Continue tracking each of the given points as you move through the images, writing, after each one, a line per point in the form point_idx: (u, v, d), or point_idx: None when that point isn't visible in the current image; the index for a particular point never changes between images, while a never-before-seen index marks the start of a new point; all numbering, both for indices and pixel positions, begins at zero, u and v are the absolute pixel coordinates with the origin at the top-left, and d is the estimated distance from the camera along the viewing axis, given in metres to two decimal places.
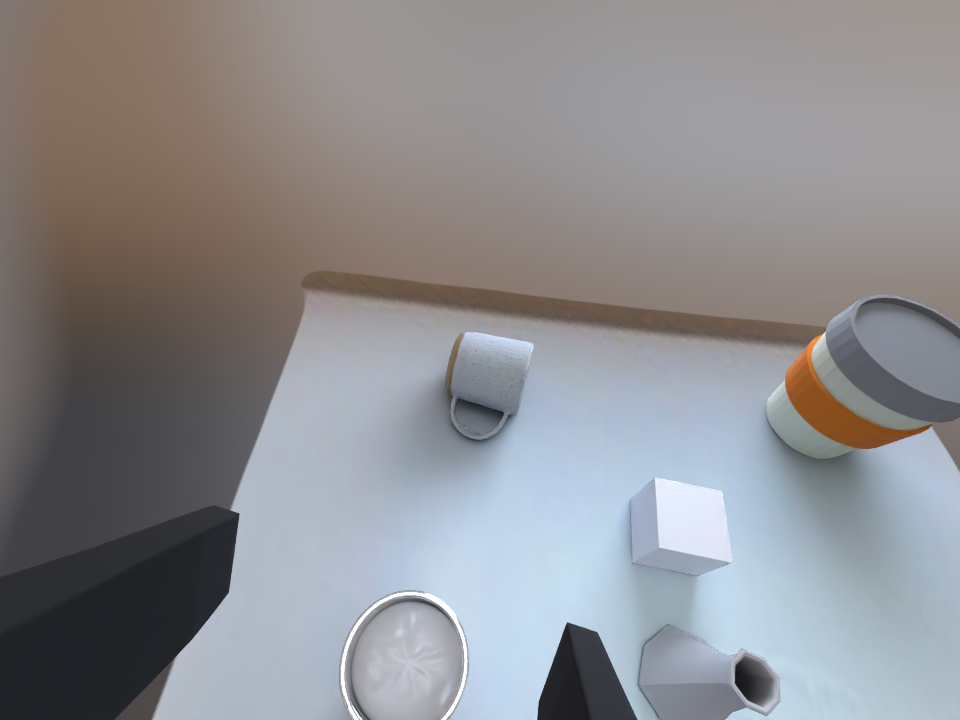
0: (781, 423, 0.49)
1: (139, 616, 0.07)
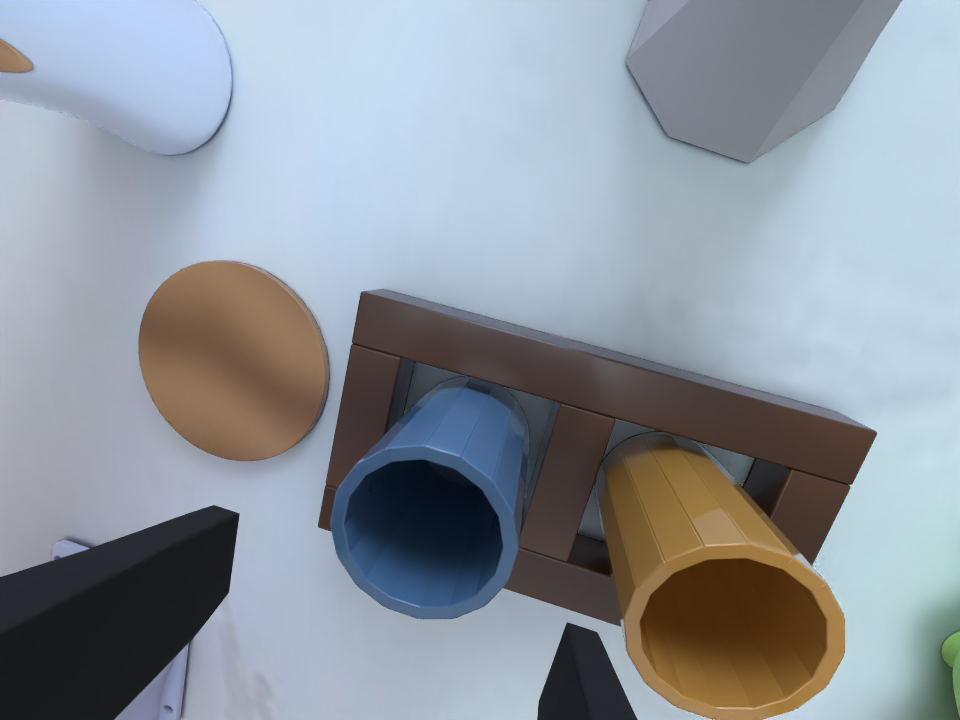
0: None
1: (139, 616, 0.07)
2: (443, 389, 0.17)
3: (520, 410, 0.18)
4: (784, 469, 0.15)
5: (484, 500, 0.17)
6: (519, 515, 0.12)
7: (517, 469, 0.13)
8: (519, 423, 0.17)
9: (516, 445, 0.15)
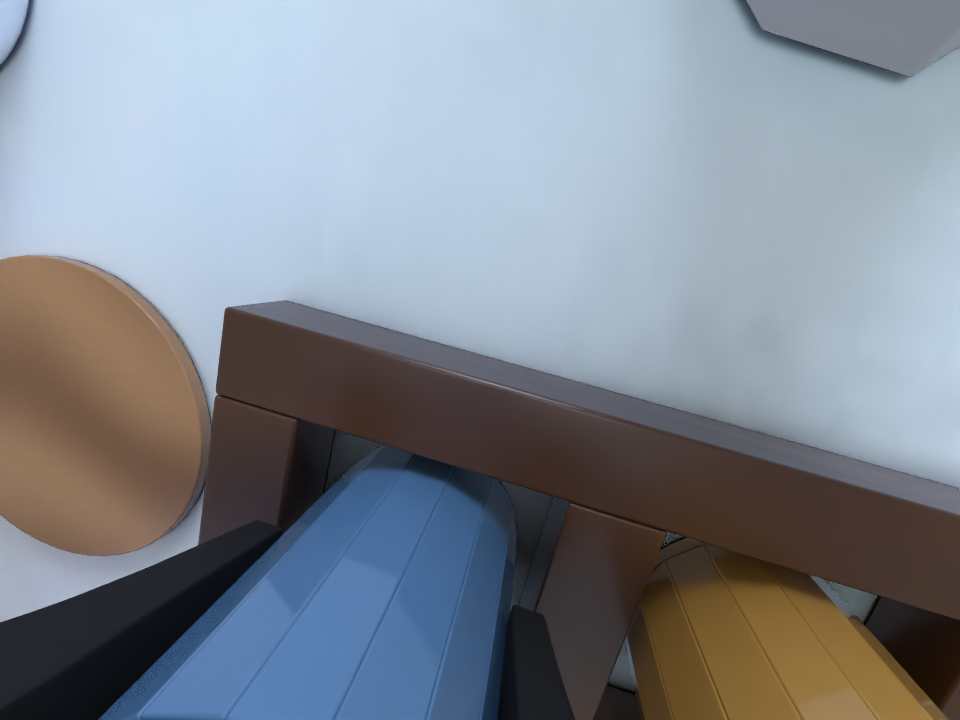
0: None
1: None
2: (369, 470, 0.10)
3: (501, 495, 0.11)
4: None
5: None
6: None
7: (482, 674, 0.07)
8: (497, 529, 0.10)
9: (486, 596, 0.08)
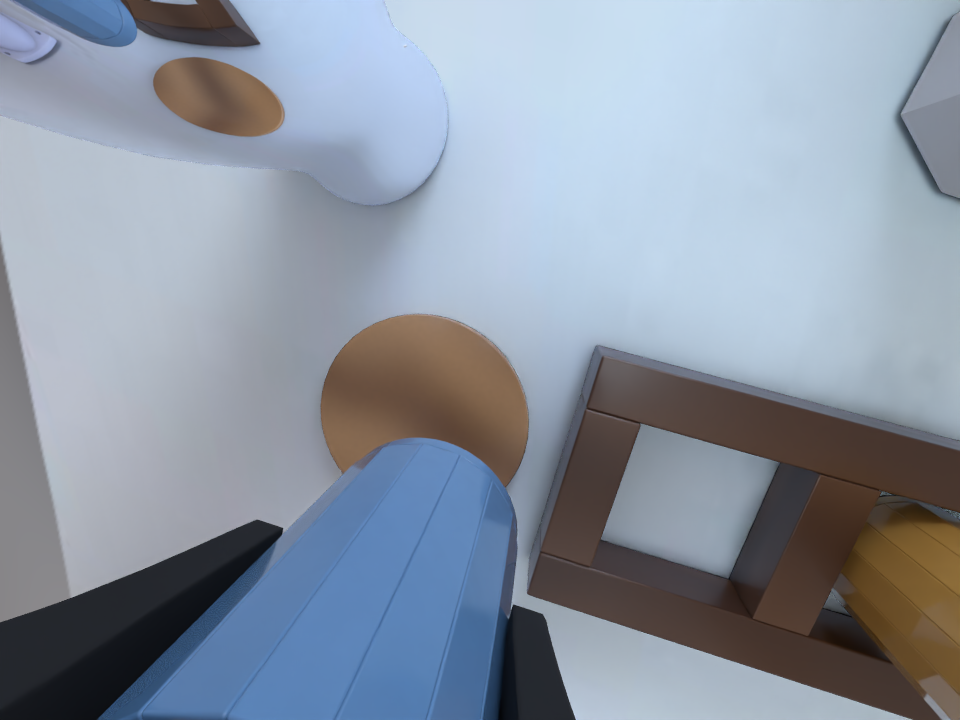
0: None
1: None
2: (370, 469, 0.10)
3: (502, 494, 0.11)
4: None
5: None
6: None
7: (483, 673, 0.07)
8: (498, 528, 0.10)
9: (487, 595, 0.08)
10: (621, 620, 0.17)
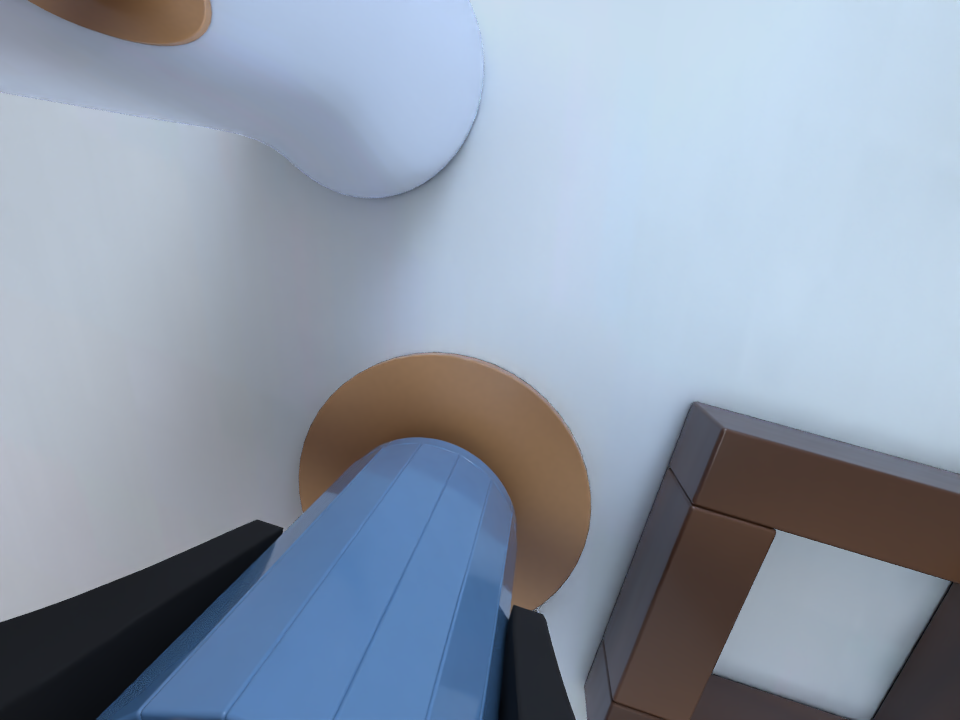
0: None
1: None
2: (370, 469, 0.10)
3: (502, 494, 0.11)
4: None
5: None
6: None
7: (483, 672, 0.07)
8: (498, 527, 0.10)
9: (487, 594, 0.08)
10: None
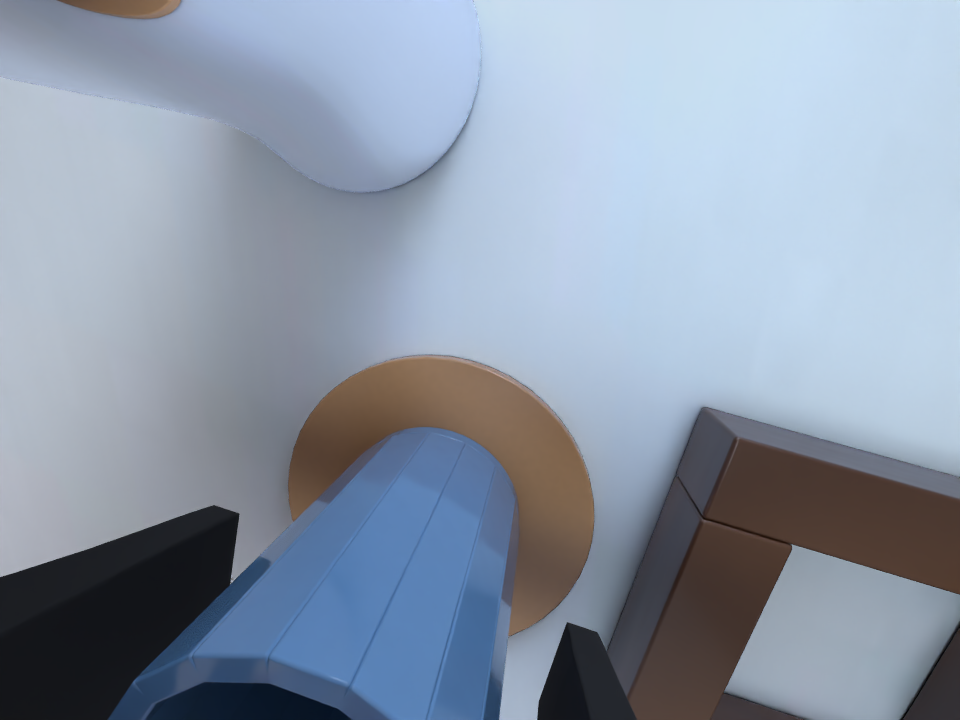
0: None
1: (139, 616, 0.07)
2: (381, 455, 0.10)
3: (505, 480, 0.12)
4: None
5: None
6: None
7: (490, 635, 0.07)
8: (502, 510, 0.10)
9: (492, 568, 0.08)
10: None
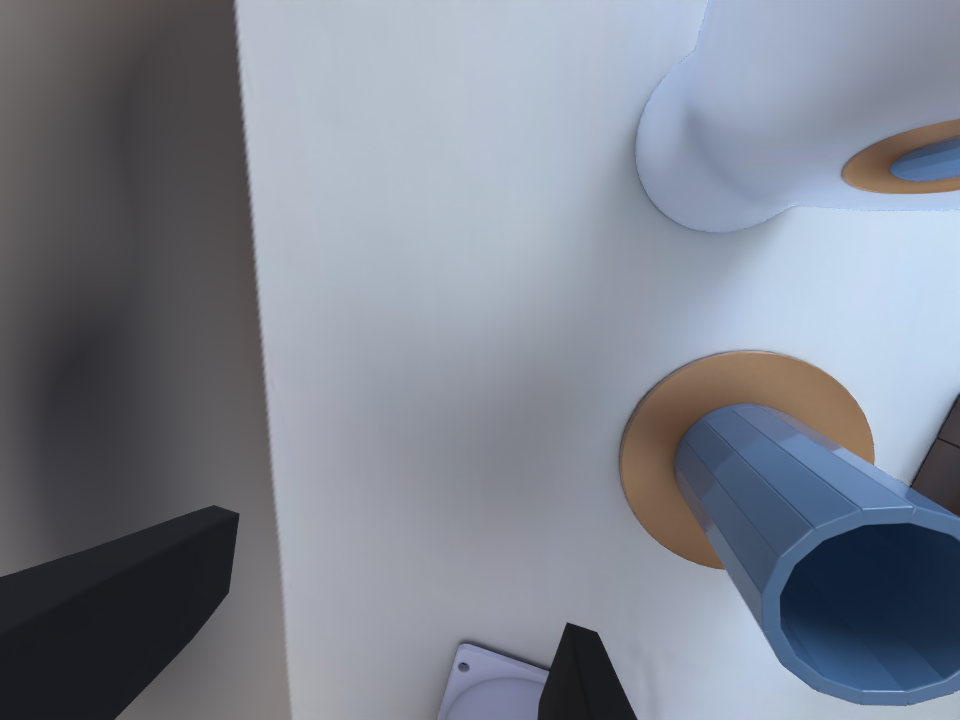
0: None
1: (139, 616, 0.07)
2: (753, 421, 0.15)
3: None
4: None
5: None
6: None
7: None
8: None
9: None
10: None
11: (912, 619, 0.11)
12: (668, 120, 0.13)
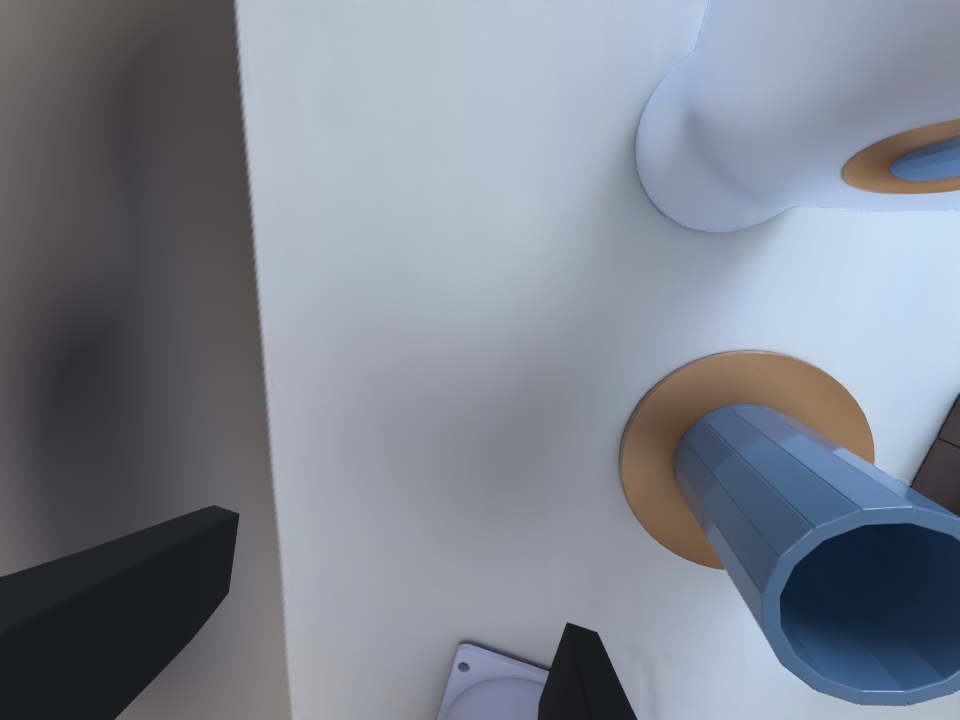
0: None
1: (139, 616, 0.07)
2: (753, 421, 0.15)
3: None
4: None
5: None
6: None
7: None
8: None
9: None
10: None
11: (912, 619, 0.11)
12: (668, 120, 0.13)
